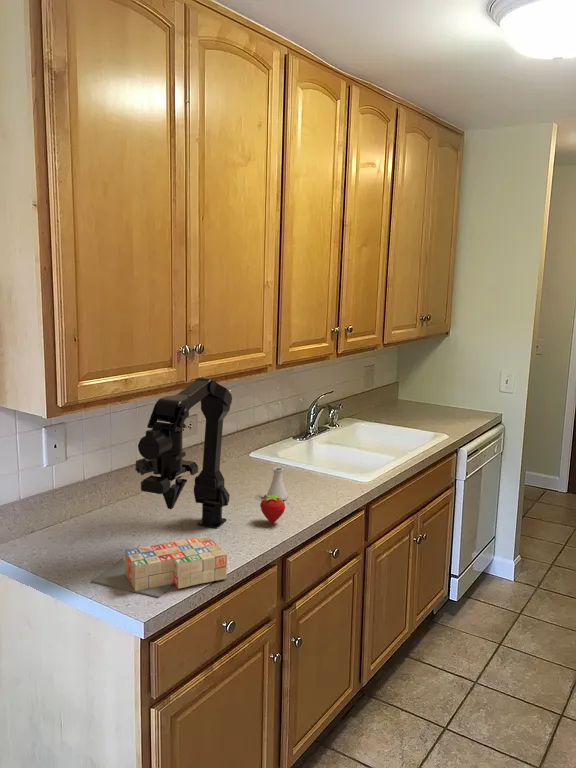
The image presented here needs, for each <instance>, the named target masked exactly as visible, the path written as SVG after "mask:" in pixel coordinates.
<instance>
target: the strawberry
mask: <svg viewBox="0 0 576 768" xmlns="http://www.w3.org/2000/svg"><path fill="white" fill-rule="evenodd" d="M264 496H265V498H263V499H262V500H261V502H260V505H259V506H260V510H261V513H262V514H263V515H264V517H265V518H266V519H267V521H268V522H269V523H270V524H275V523H276V522H277V521H278V520H279V519H280V518H281V516H282V515H283V514H284V512H285V509H286V505H285V501H282V500H280V499H281V498H278V497H280V496H275V495H273V496H272V492H271V496H267V494H266V495H264ZM266 496H267V497H269V498H266Z"/></svg>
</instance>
